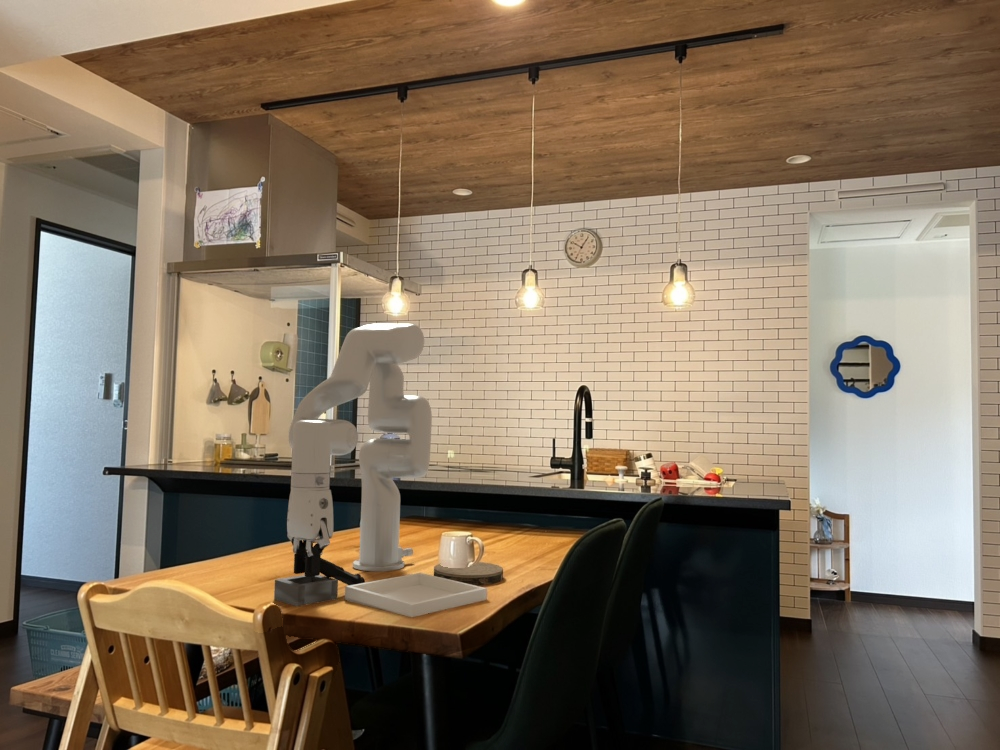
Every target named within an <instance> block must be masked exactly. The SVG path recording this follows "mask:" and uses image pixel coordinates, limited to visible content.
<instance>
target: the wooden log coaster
mask: <svg viewBox="0 0 1000 750" xmlns="http://www.w3.org/2000/svg"><path fill="white" fill-rule="evenodd" d="M476 562H477V563H476V564H474V565H473V566H470V567H465V568H448V567H443V566H441V565H440V564H441V563H438V564H436V565H434V566H433V576H437V577H441V578H445V579H449V580H454V581H458V582H462V583H467V584H471V585H475V586H485V585H486V586H487V585H493V584H496V583H499V582H502V581H503V579H504V568H503V566H501V565H498V564H494V563H490V562H482V561H476Z"/></svg>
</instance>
